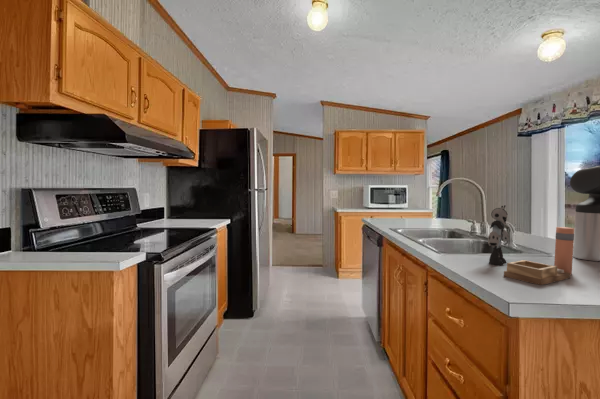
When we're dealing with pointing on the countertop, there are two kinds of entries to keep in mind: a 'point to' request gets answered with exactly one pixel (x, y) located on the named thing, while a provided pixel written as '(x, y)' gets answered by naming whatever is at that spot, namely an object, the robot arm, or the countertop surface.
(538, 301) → the countertop surface
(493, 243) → the robot
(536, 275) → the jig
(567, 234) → the banded orange cylinder
